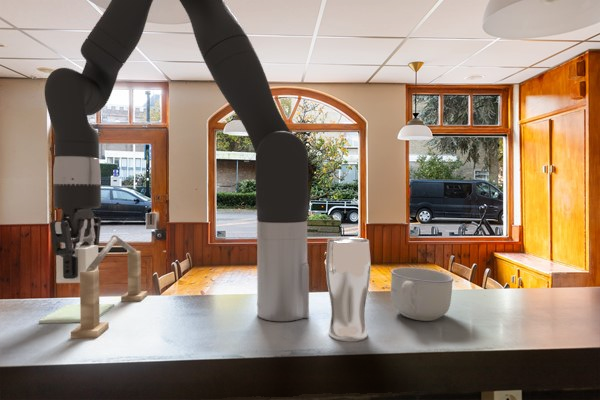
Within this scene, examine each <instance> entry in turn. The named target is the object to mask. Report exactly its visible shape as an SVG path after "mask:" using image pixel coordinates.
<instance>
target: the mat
mask: <svg viewBox="0 0 600 400" xmlns="http://www.w3.org/2000/svg"><path fill="white" fill-rule="evenodd" d="M114 307H115V303H99V318H101V317H102V316H103V315H104V314H106V313H107V312H109V311H110V310H111V309H113V308H114ZM56 323H57V324H59V323H60V324H61V323H62V324H64V323H81V314H80V304H66V305H64V306H62V307H61V308H59V309H57V310H54V311H53V312H52V313H50V314H48V315H46V316H44V317H42V318H41V319H39V320H38V324H56Z"/></svg>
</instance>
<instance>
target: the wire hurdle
mask: <svg viewBox="0 0 600 400" xmlns="http://www.w3.org/2000/svg"><path fill="white" fill-rule="evenodd" d="M115 243H116V244H117V245H119V246H120V247H122V248H123V249H125V250H127V251H128V252H127V292H125V293H124V294H122V295H121V297H120V302H142V301H143V300H145V298H146V297H148V291H147V290H143V291H142V268H141V267H142V266H141V265H142V260H141V259H142V254H141V253H142V252H141V250H137V249H136V248H134V246H131V245H130V244H128V243H127V242H126V241H124V240H123V239H121V238H120V237H119V236H118V235H116V234H115V235H112V236H111V237H110V240H108V242H107V243H106V245H104V246H103V248H102V249H101V251H100V252H98V256H97V257H96V258H95V259H94V261H93V262H92V263H91V264H90V266H89V267H88V268H87V270H84V271H82V272H80V283H79V289H80V290H79V294H80V295H79V299H80V302H79V303H80V304H79V305H80V314H81V322H80V325H78V326H77V327H75V328H74V329H72V330H71V331H70V339H83V338H84V339H86V338H87V339H88V338H99V337H100V336H101V335H102V334H103V333H105V332H106V331H108V329H109V322H108V321H107V322H102V321H101V320H100V318H101V317H99V304H100V269H99V268H98V269H97V270H95V269H96V267H97V266H98V267H99V265H100V263H101V262H102V261H103V259H104V258H105V257H106V255H107V254H108V253H109V251H110V250H111V249H112V247H113V246H114V245H115ZM100 321H101V322H100Z"/></svg>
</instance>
